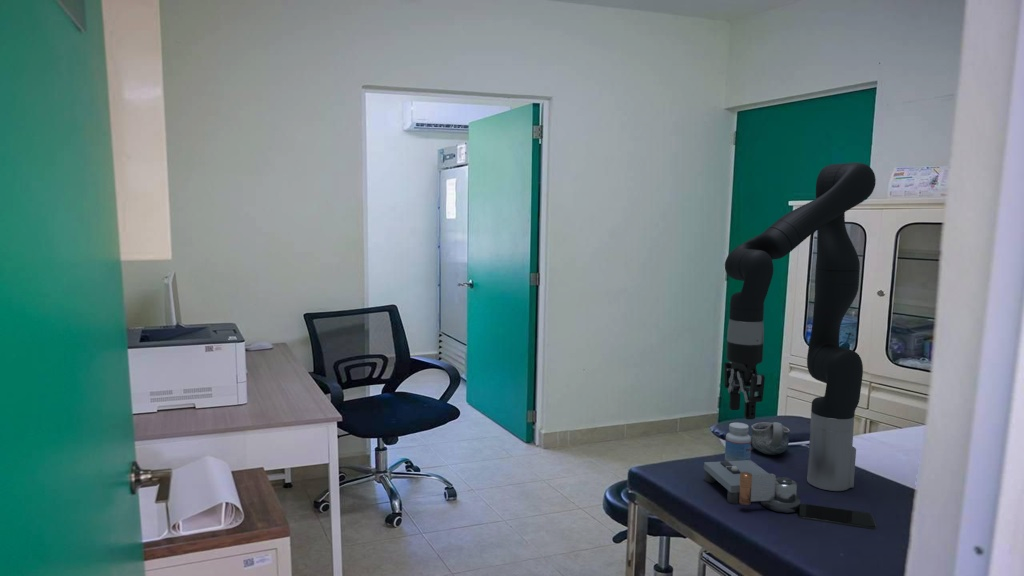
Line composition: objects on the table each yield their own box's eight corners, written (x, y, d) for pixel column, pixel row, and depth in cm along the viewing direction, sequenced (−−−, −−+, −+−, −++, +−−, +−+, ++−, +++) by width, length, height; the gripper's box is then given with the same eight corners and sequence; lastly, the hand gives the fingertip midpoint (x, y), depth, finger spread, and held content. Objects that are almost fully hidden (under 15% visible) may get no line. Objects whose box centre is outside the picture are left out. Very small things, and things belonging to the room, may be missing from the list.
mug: (779, 446, 186) (781, 411, 185) (800, 463, 174) (803, 425, 172) (744, 446, 185) (746, 411, 184) (764, 463, 173) (766, 425, 172)
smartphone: (797, 520, 142) (877, 531, 137) (797, 516, 142) (877, 527, 137) (795, 505, 149) (871, 516, 144) (796, 502, 149) (872, 512, 144)
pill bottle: (751, 474, 166) (753, 429, 165) (725, 471, 167) (727, 428, 166) (748, 465, 172) (750, 422, 171) (723, 463, 173) (725, 420, 172)
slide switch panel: (749, 476, 164) (750, 454, 164) (780, 501, 150) (782, 476, 150) (703, 479, 162) (704, 456, 162) (730, 504, 149) (731, 479, 148)
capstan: (787, 495, 152) (788, 462, 152) (807, 511, 145) (809, 476, 144) (728, 499, 150) (729, 465, 150) (745, 515, 143) (747, 479, 142)
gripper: (778, 346, 141) (774, 423, 143) (745, 333, 155) (741, 404, 157) (745, 347, 140) (741, 424, 142) (714, 334, 154) (711, 405, 156)
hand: (741, 413), depth 149 cm, fingers open, 6 cm apart
